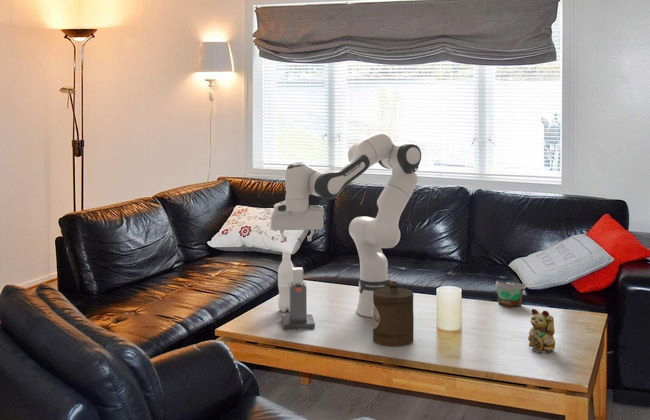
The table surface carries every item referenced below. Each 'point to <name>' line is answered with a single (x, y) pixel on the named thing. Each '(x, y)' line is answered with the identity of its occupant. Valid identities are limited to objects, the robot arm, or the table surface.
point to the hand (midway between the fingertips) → (297, 241)
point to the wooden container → (393, 315)
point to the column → (297, 276)
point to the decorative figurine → (542, 332)
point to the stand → (297, 310)
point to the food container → (510, 294)
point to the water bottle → (284, 281)
